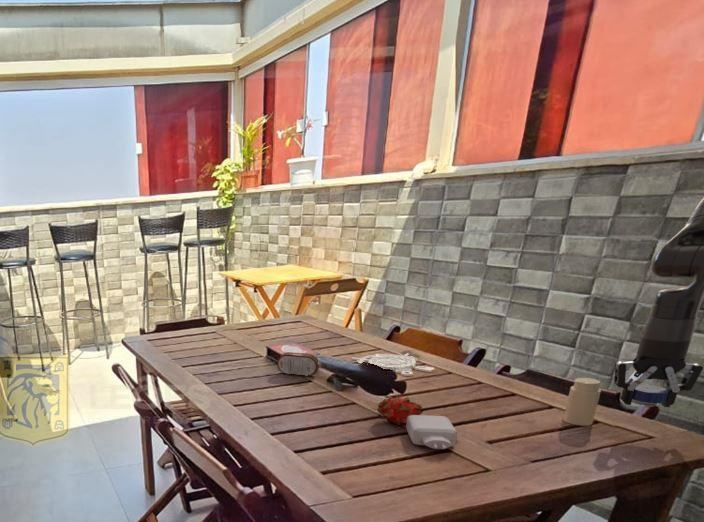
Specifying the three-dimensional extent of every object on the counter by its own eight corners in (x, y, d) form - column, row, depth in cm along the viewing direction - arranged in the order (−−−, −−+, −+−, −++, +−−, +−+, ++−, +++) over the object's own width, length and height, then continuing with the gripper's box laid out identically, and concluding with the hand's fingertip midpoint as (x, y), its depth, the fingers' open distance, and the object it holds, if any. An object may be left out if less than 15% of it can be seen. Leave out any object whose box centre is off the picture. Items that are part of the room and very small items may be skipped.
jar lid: (641, 403, 114) (644, 393, 113) (622, 394, 119) (624, 385, 118) (673, 403, 112) (677, 393, 111) (652, 394, 118) (655, 384, 117)
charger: (416, 455, 119) (405, 430, 132) (462, 458, 116) (445, 432, 129) (419, 438, 118) (407, 414, 131) (465, 440, 114) (448, 416, 127)
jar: (564, 415, 131) (574, 376, 127) (593, 420, 127) (604, 379, 123) (561, 422, 127) (570, 382, 123) (591, 427, 123) (602, 385, 119)
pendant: (404, 352, 195) (404, 349, 195) (442, 373, 169) (442, 370, 169) (348, 357, 198) (348, 353, 198) (376, 378, 172) (377, 374, 172)
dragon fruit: (371, 426, 140) (416, 431, 138) (382, 419, 132) (431, 425, 130) (371, 398, 142) (416, 402, 140) (383, 390, 134) (431, 394, 132)
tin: (319, 375, 181) (320, 353, 178) (316, 378, 179) (317, 356, 176) (278, 371, 190) (279, 351, 187) (276, 374, 188) (276, 353, 185)
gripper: (629, 339, 111) (610, 408, 116) (722, 340, 104) (697, 413, 110) (616, 331, 117) (599, 397, 123) (703, 332, 110) (681, 401, 116)
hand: (645, 404), depth 116 cm, fingers closed on jar lid, 6 cm apart
